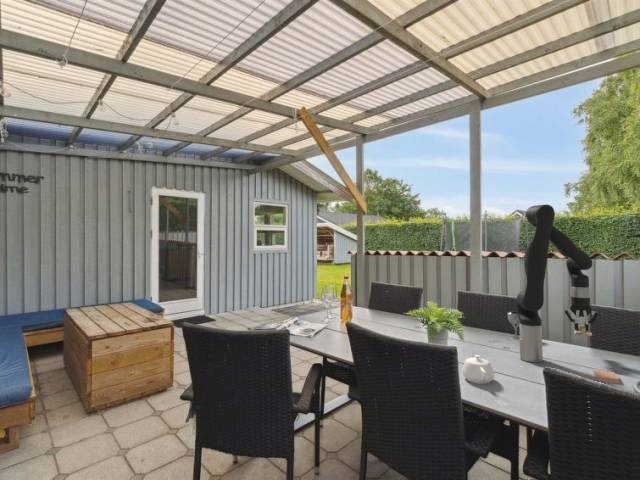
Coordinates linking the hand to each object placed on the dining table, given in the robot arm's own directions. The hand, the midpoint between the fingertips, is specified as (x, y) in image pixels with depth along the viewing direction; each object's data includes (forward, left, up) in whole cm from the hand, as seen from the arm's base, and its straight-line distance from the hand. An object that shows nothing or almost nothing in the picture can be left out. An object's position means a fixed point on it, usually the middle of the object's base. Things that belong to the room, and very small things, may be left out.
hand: (581, 331), depth 163 cm
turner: (0, -3, -1) cm, 3 cm away
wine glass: (-29, +23, -13) cm, 39 cm away
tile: (+5, -26, -12) cm, 29 cm away
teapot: (-40, -52, -13) cm, 67 cm away
